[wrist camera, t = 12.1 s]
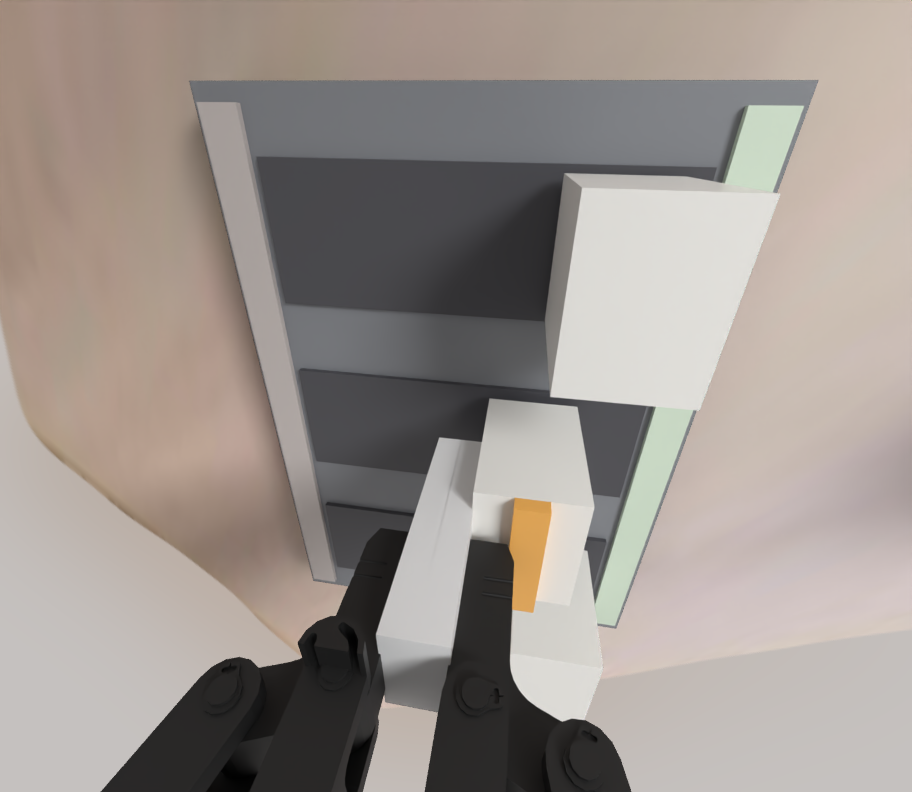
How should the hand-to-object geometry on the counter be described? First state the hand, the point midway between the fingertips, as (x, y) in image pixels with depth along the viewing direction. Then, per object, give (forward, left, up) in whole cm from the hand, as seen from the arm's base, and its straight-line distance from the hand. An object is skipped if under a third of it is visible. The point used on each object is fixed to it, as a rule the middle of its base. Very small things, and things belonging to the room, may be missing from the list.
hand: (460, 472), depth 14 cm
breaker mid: (0, +2, -2) cm, 3 cm away
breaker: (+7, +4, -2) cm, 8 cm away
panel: (0, 0, -4) cm, 4 cm away
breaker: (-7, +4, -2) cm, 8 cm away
